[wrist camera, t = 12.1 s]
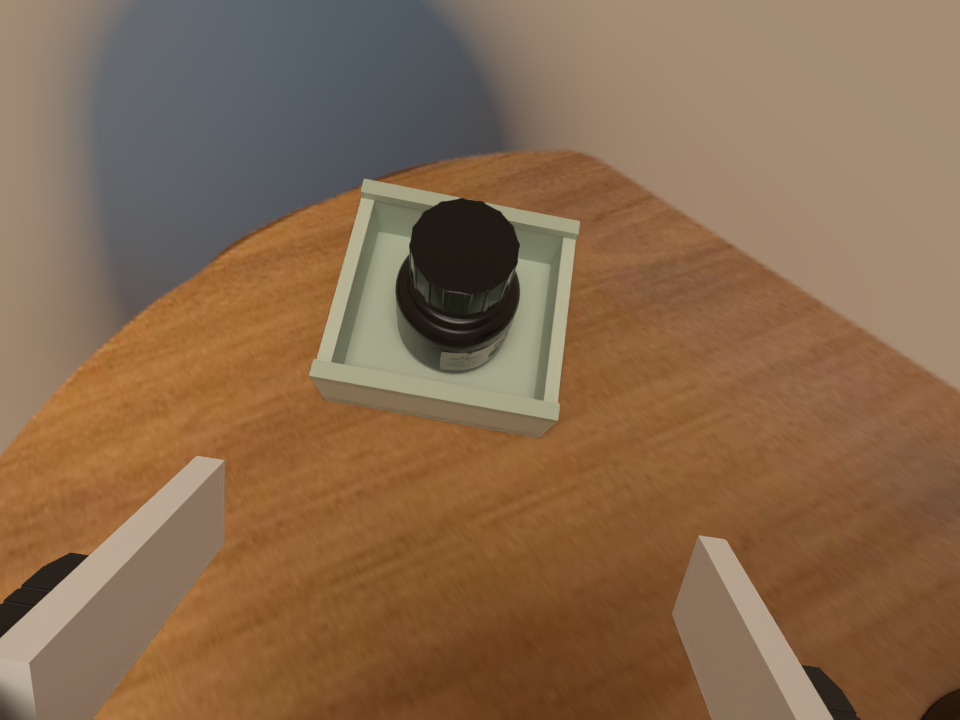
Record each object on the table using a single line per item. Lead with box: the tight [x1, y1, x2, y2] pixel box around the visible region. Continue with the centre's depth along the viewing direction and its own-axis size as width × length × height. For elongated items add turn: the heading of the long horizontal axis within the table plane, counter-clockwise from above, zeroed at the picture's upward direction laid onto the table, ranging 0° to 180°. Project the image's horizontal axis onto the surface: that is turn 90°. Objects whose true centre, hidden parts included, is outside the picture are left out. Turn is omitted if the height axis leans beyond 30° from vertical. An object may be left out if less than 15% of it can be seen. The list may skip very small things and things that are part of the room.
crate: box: [309, 179, 580, 438], centre depth 44 cm, size 17×16×6 cm
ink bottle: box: [395, 198, 520, 373], centre depth 40 cm, size 10×9×12 cm
